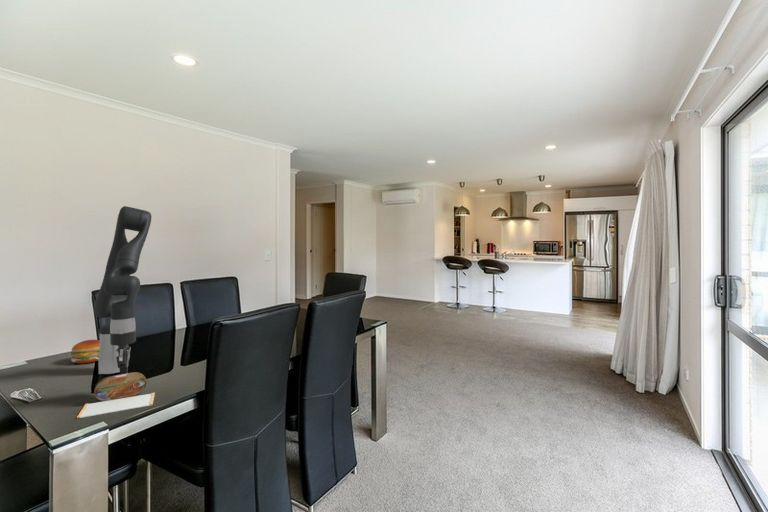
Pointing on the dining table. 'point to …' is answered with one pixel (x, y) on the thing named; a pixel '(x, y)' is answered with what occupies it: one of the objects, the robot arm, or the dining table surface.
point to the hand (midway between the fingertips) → (123, 377)
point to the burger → (86, 351)
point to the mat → (116, 405)
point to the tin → (120, 386)
